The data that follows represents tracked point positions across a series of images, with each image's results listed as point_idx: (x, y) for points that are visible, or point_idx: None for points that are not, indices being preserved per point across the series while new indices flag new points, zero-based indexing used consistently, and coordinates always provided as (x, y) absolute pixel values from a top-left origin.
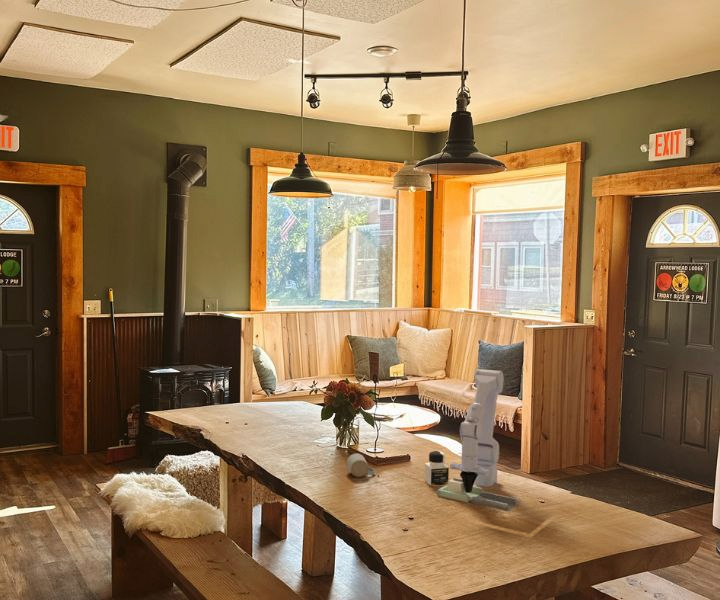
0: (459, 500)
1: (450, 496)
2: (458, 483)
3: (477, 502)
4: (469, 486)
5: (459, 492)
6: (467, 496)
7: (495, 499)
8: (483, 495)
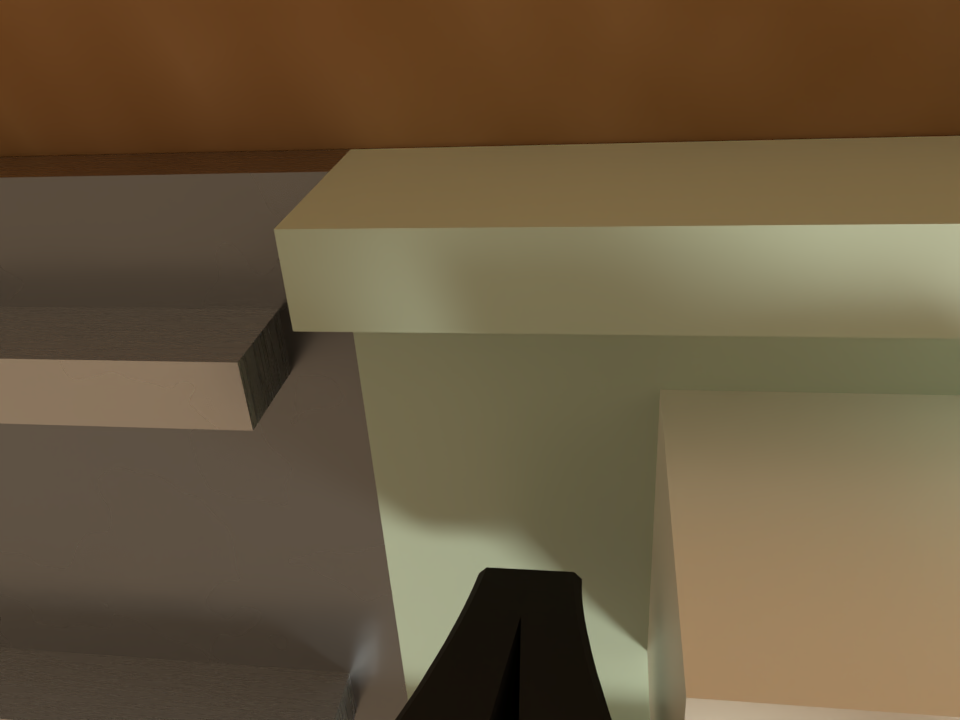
0: (574, 163)
1: (912, 178)
2: (807, 694)
3: (145, 307)
4: (411, 700)
5: (712, 467)
6: (281, 239)
7: (46, 633)
8: (296, 684)
